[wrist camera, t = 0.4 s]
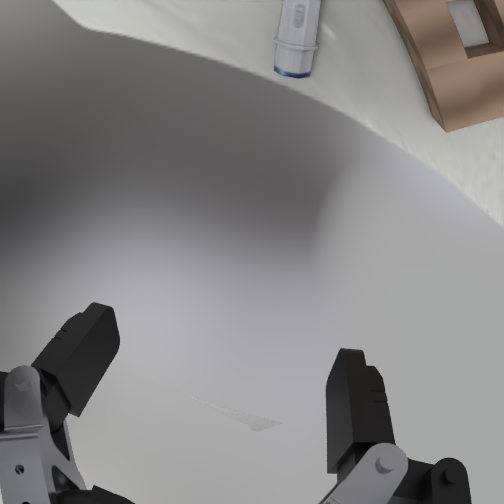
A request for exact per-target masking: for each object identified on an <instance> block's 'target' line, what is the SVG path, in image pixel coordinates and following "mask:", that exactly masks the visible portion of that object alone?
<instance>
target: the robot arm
mask: <svg viewBox="0 0 504 504" xmlns="http://www.w3.org/2000/svg"><path fill="white" fill-rule="evenodd" d="M119 345H120V336H119V332H118V328H117V322H116V318H115V313H114V310H113V308H112V307H110V306H106V305H102V304H99V303H94V302H93V303H91V304H90V305H89V306H88V308H87V309H86V310H85V311H84V312H83V313H80V312H79V313H78V314H76V315H75V316H73V317H71V318H70V319H68V320H67V321H66V323H65V324H64V325H63V326H62V328H61V330H59V331H58V332H57V333H56V335H55V337H54V338H52V339H51V341H50V342H49V343H48V344H47V346H46V347H45V348H44V349H43V351H42V352H41V353H40V355H39V356H38V357H37V358H36V359H35V361H34V362H33V363H32V364H31V366H27V365H22V366H18V367H16V368H14V369H13V370H11V371H10V372H9V373H7V372H1V371H0V487H1V493H2V499H3V504H135V503H133V502H131V501H130V500H128V499H127V498H125V497H122V496H119V495H117V494H114V493H112V492H109V491H107V490H104V489H102V488H100V487H98V486H95V485H94V486H93V488H92V490H87V489H86V486H85V483H84V480H83V478H82V476H81V474H80V472H79V471H78V469H77V466H76V464H75V460H74V455H73V451H72V446H71V442H70V437H69V432H68V427H67V422H66V419H65V418H66V416H67V415H68V413H70V414H72V415H75V416H77V417H79V416H80V415H81V413H82V411H83V409H84V408H85V406H86V404H87V402H88V401H89V398H90V397H91V396H92V394H93V392H94V390H95V389H96V387H97V385H98V384H99V382H100V380H101V378H102V377H103V375H104V373H105V372H106V370H107V369H108V367H109V365H110V364H111V362H112V360H113V359H114V357H115V355H116V354H117V352H118V349H119ZM326 416H327V473H332V474H335V473H336V474H337V483H336V484H335V486H334V487H333V488H332V489H331V490H330V491H329V492H328V493H327V495H326V496H325V497H324V498H323V499H322V500H321V501H320V502H319V503H318V504H472V503H471V495H470V488H469V482H468V475H467V471H466V468H465V467H464V465H463V464H462V463H461V462H460V461H458V460H457V459H454V458H444V459H441V460H440V461H438V462H437V463H436V464H435V465H433V464H428V463H424V462H419V461H415V460H411V459H409V458H407V457H406V454H405V453H404V452H403V451H402V450H401V449H400V448H399V447H398V446H396V444H395V440H394V435H393V428H392V422H391V417H390V412H389V406H388V403H387V396H386V393H385V386H384V382H383V378H382V376H381V375H380V373H379V372H378V370H377V369H376V367H375V366H366V361H365V356H364V352H363V351H362V350H355V349H344V348H341V349H340V350H339V352H338V355H337V357H336V360H335V362H334V364H333V367H332V369H331V372H330V374H329V377H328V380H327V385H326Z"/></svg>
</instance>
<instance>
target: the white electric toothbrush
mask: <svg viewBox="0 0 504 504" xmlns="http://www.w3.org/2000/svg"><path fill="white" fill-rule="evenodd" d="M320 4H321V0H284V1H283V7H282V14H281V20H280V27H279V33H278V36H276V37H275V38H274V42H275V43H277V48H276V57H275V65H274V71H275V72H277V73H279V74H281V75H283V76H288V77H294V78H305V77H310V71H311V66H312V60H313V54H314V50H318V45H319V43H317V42H316V35H317V27H318V20H319V12H320Z"/></svg>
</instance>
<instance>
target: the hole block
mask: <svg viewBox="0 0 504 504" xmlns="http://www.w3.org/2000/svg"><path fill="white" fill-rule="evenodd" d="M449 1H454V0H383V2H384V4H385V6H386V7H387V9H388V11H389V13H390V15H391V17H392V19H393V21H394V23H395V25H396V27H397V29H398V31H399V33H400V35H401V37H402V39H403V41H404V44H405V46H406V48H407V50H408V53H409V55H410V57H411V60H412V62H413V64H414V67H415V69H416V72H417V74H418V77H419V80H420V82H421V85H422V88H423V90H424V93H425V96H426V99H427V102H428V105H429V108H430V111H431V114H432V117H433V118H434V119H435V120H436V121H437V122H438V124H439V125H440V126H441V127H442V128H443V129H444V131H445V132H446V133H447V132H450V131H454V130H457V129H460V128H464V127H467V126H471V125H474V124H478V123H482V122H485V121H489V120H493V119H496V118H500V117H504V0H474V2H475V4H476V7H477V9H478V12H479V14H480V17H481V19H482V22H483V24H484V27H485V30H486V33H487V35H488V38H489V41H490V43H487V44H481V45H477V46H472V47H467V48H464V46H463V43H462V41H461V38H460V35H459V33H458V30H457V28H456V25H455V23H454V21H453V18H452V16H451V14H450V11H449V9H448V7H447V5H446V3H445V2H449Z"/></svg>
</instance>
